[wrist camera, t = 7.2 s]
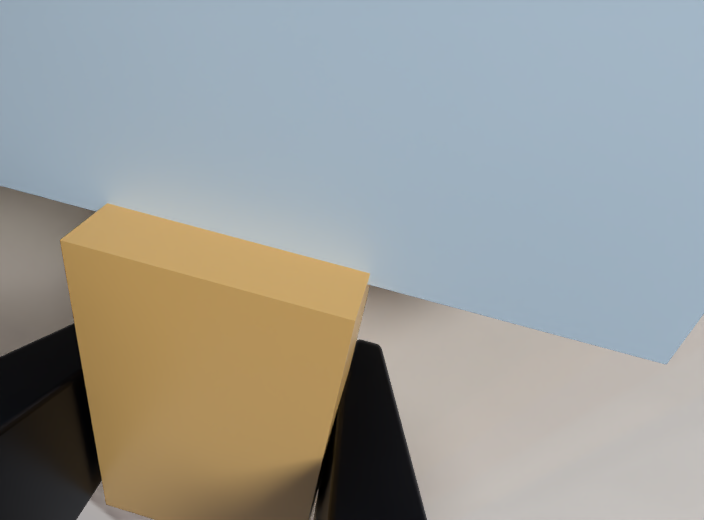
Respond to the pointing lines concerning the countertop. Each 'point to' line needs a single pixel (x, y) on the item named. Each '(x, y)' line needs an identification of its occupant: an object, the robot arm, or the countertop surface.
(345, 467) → the robot arm
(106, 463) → the lid
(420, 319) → the countertop surface
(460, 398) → the countertop surface
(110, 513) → the countertop surface
